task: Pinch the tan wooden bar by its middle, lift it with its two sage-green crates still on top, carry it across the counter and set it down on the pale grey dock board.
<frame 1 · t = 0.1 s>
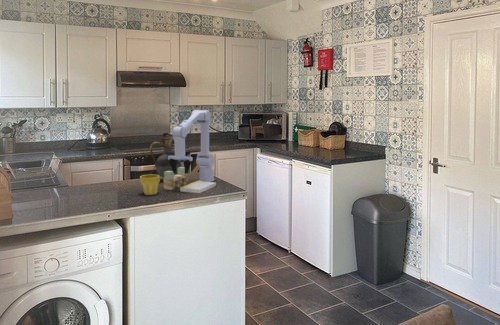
hand: (180, 173, 236), 10 cm above the counter, fingers open, 7 cm apart
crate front: (169, 178, 241), point 6 cm above the counter, touching tan wooden bar
pitcher: (166, 181, 264), on the counter
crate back: (182, 174, 254), point 6 cm above the counter, touching tan wooden bar
dock: (198, 188, 243), on the counter
tan wooden bar: (176, 186, 248), on the counter, touching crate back, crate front
plant pot: (150, 194, 231), on the counter
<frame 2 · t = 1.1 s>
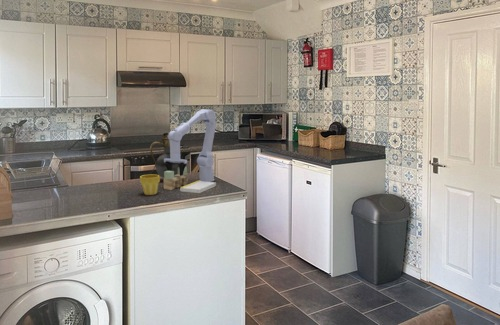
hand: (175, 175, 247), 7 cm above the counter, fingers open, 7 cm apart
nothing on the counter moved.
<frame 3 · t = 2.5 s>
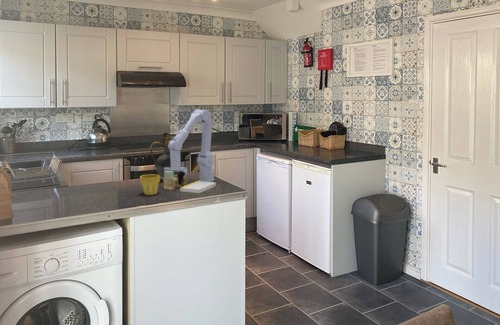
hand: (176, 183, 248), 1 cm above the counter, fingers closed on tan wooden bar, 5 cm apart
tan wooden bar: (176, 186, 248), on the counter, touching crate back, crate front, gripper
everything else where it was.
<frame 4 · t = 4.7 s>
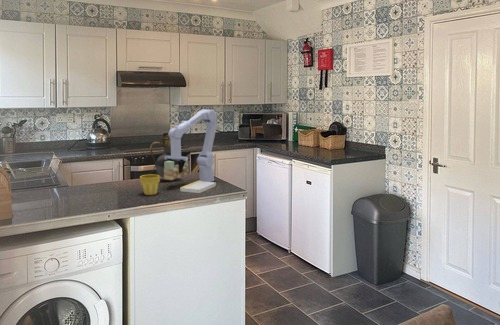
hand: (176, 172, 247), 8 cm above the counter, fingers closed on tan wooden bar, 5 cm apart
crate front: (169, 168, 240), point 12 cm above the counter, touching tan wooden bar
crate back: (182, 164, 253), point 12 cm above the counter, touching tan wooden bar
tan wooden bar: (176, 176, 247), point 6 cm above the counter, touching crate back, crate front, gripper
everything else where it was.
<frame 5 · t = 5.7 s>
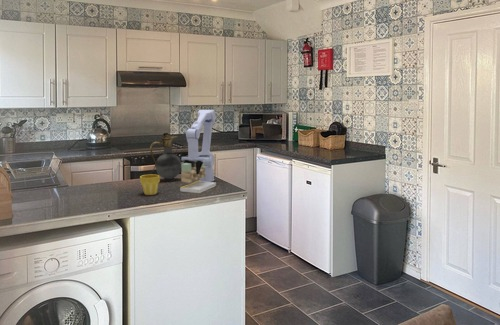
hand: (193, 173, 243), 8 cm above the counter, fingers closed on tan wooden bar, 5 cm apart
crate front: (186, 170, 236), point 11 cm above the counter, touching tan wooden bar
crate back: (199, 167, 249), point 11 cm above the counter, touching tan wooden bar
tan wooden bar: (193, 179, 243), point 5 cm above the counter, touching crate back, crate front, gripper
everything else where it was.
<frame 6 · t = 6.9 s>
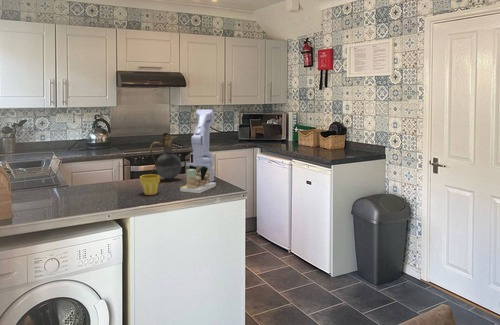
hand: (198, 179, 242), 5 cm above the counter, fingers closed on tan wooden bar, 5 cm apart
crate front: (191, 176, 235), point 8 cm above the counter, touching tan wooden bar
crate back: (204, 172, 248), point 8 cm above the counter, touching tan wooden bar
tan wooden bar: (198, 185, 242), point 2 cm above the counter, touching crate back, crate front, dock, gripper
everything else where it was.
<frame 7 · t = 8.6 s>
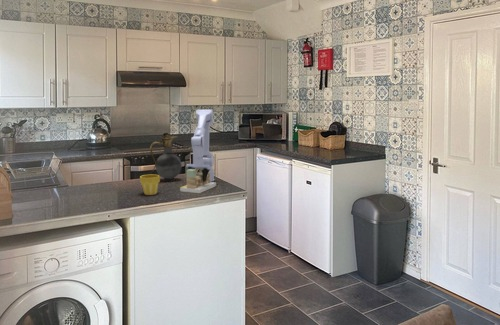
hand: (198, 181, 242), 4 cm above the counter, fingers open, 7 cm apart
tan wooden bar: (198, 185, 242), point 2 cm above the counter, touching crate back, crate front, dock
everything else where it was.
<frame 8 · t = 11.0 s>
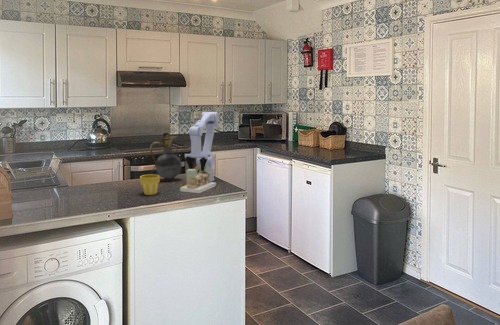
hand: (196, 170, 247), 9 cm above the counter, fingers open, 7 cm apart
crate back: (204, 171, 249), point 8 cm above the counter, tilted 13°, touching gripper, tan wooden bar
everything else where it was.
at the end: tan wooden bar inside the target area on the dock (0.1 cm from its centre), point 2.0 cm above the dock's base; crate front point 8.0 cm above the counter; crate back point 8.3 cm above the counter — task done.
